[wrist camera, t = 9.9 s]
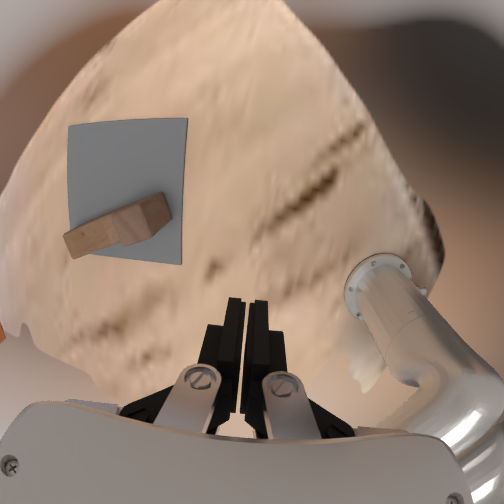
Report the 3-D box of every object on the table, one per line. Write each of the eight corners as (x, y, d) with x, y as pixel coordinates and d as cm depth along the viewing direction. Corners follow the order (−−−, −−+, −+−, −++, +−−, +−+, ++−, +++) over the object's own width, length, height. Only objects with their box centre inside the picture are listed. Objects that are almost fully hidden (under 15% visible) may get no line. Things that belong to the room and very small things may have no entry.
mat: (187, 118, 35) (187, 118, 35) (181, 264, 43) (181, 265, 43) (70, 126, 35) (68, 126, 35) (74, 250, 43) (73, 251, 43)
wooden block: (138, 203, 30) (44, 245, 32) (152, 238, 32) (56, 272, 34) (163, 190, 39) (76, 226, 41) (173, 219, 40) (85, 250, 42)
